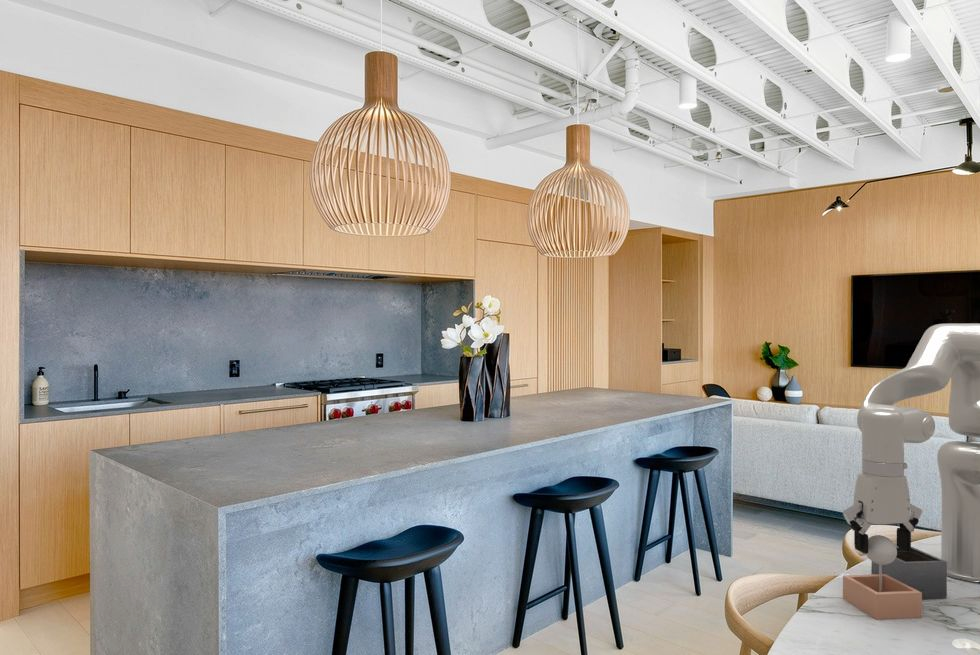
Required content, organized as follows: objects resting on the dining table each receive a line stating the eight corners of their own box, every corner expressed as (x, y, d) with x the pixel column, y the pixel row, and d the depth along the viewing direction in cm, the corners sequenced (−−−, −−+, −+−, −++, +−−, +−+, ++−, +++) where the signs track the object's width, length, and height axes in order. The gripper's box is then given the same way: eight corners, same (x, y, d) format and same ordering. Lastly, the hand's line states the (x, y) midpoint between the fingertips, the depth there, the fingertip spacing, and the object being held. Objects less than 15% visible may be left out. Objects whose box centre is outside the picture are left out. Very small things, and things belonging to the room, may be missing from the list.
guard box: (910, 580, 148) (911, 546, 148) (946, 598, 138) (946, 561, 139) (871, 582, 147) (871, 547, 147) (904, 600, 137) (905, 563, 137)
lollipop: (891, 616, 129) (891, 542, 129) (859, 607, 133) (859, 535, 134) (901, 608, 133) (901, 536, 133) (870, 599, 138) (869, 529, 138)
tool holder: (885, 597, 139) (885, 574, 139) (921, 617, 129) (921, 592, 129) (842, 598, 138) (843, 575, 138) (876, 619, 128) (876, 594, 128)
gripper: (906, 463, 138) (906, 542, 138) (832, 466, 136) (832, 546, 136) (934, 471, 131) (934, 554, 131) (857, 474, 129) (857, 558, 129)
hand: (882, 550), depth 134 cm, fingers open, 9 cm apart
